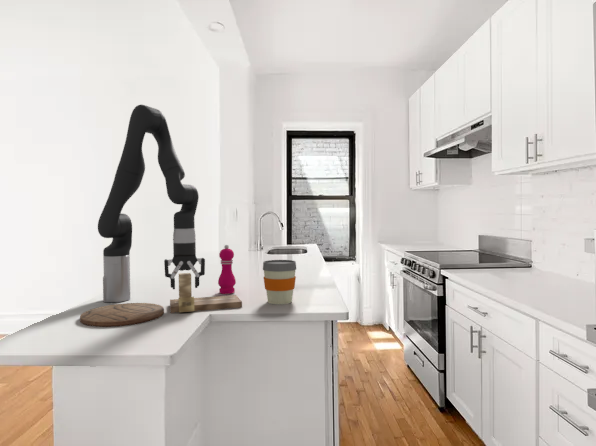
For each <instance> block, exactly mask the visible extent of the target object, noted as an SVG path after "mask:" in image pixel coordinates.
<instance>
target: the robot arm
mask: <svg viewBox="0 0 596 446" xmlns="http://www.w3.org/2000/svg"><path fill="white" fill-rule="evenodd" d="M146 133H147V134H151V135H152V136H153V138H154V139H155V142H156V144H157V148H158V149H157V162H158V166H159V167H160V171H161V172H162V175H163V177H164V179H165V186H166V193H167V194H166V195H167V197H168V198H169V200H170V201H171V203H173V204H174V205H181V208H180V210H179V211H176V212H174V214H173V232H172V233H173V235H172V236H173V237H172V243H173V245H172V246H173V248H172V249H173V253H172V254H173V256H172V259H167V258H166V259H164V261H163V262H164V263H163V264H164V276H165V278H169V279H170V288H172V290H176V280H175V276H176V275H177V274H178V273H179V271H180V272H183V271H192V272H193V274H194V288H195V289H197V288H198V287H199V286H200V277H202V276H204V275H205V272H206V259H205V258H204V257H200V258H197V256H196V255H197V254H196V253H197V252H196V249H197V248H196V245H197V244H196V243H197V242H196V230H195V228H196V227H195V226H196V225H195V215H196V212H197V208H198V204H199V196H200V195H199V191H198V189H197V188H196V186H194V185H191V184H183V183H182V180H184V178H185V177H186V175H185V171H184V168H183V166H182V164H181V162H180V159H179V157H178V155H177V153H176V150H175V147H174V144H173V140H172V136H171V133H170V129H169V126H168V122H167V119H166V117H165V115H164V113H163V111H161V110H160V109H157V108H155V107H151V106H148V105H145V104H138V105H136V106H135V107H134V108H133V109H132V112H131V114H130V118H129V122H128V128H127V132H126V136H125V137H126V138H125V142H124V145H123V150H122V153H121V156H120V160H119V162H118V165H117V168H116V172H115V173H114V174H115V175H114V179H113V182H112V186H111V188H110V190H109V191H110V192H109V194H108V197H107V200H106V202H105V204H104V206H103V209H102V211H101V214H100V216H99V218H98V221H97V232H98V234H99V235H100V237H102V238H104V239H112V240H111V243H109V245H108V246H105V247H104V248H103V251H102V252H103V253H102V254H103V255H102V256H103V277H102V298H103V303H119V302H120V303H121V302H127V301H129V300H130V299H131V261H130V260H131V258H130V257H131V254H130V250H131V248H132V246H133V245H132V241H133V239H132V238H133V222H132V220H131V217H130V216H129V215H128V214H126V213H122V211H123V208H124V206H125V205H126V203H127V202H128V201H129V200H130V198H132V196H133V195H134V194H135V193H136V192H137V191H138V190H139V188H140V186H141V184H142V182H143V181H142V180H143V178H144V175H145V172H146V163H145V158H144V154H143V142H144V139H145V136H146ZM197 262H198V264H199V265H200V271H199V272H198V271H197V269H196V267H195V265H196V264H197ZM171 263H172V264H173V265H174V268H173V271H172V273H169V266H171Z"/></svg>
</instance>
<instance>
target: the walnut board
mask: <svg viewBox="0 0 596 446" xmlns="http://www.w3.org/2000/svg"><path fill="white" fill-rule="evenodd" d="M169 306H170V309H169V310H170V313H171V314H174V313H175V312H176V313H180V312H179V299H176V298H175V299H169ZM236 308H237V309H238V308H243V301H242V300H241V299H240V298H239V296H237V295H236V294H233V295H232V294H231V295H230V294H229V295H219V296H204V297H203V296H202V297H194V311H193V312H198V310H201V311H208V310H209V311H212V310H213V311H214V310H225V309H226V310H227V309H236ZM176 313H175V314H176Z"/></svg>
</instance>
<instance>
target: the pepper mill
mask: <svg viewBox="0 0 596 446" xmlns="http://www.w3.org/2000/svg"><path fill="white" fill-rule="evenodd" d="M218 256H219V258H220V259H221V260H220V265H221V273H220V275H219V277H218V280H217V281H218V283H217V284H218V286H219V287H220V288H219V294H220V295H221V294H222V295H230V294H231V295H232V294H234V293H235V291H236V290H235V289H236V288H235V285H236V283H237V282H236V281H237V280H236V277H235V275H234V272H233V269H232V265H233V258H234V256H235V254H234V251H233V250H232V249H231V248H229V245H228V244H224V247H223V249H221V250H220V251H219V255H218Z"/></svg>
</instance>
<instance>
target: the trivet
mask: <svg viewBox="0 0 596 446" xmlns="http://www.w3.org/2000/svg"><path fill="white" fill-rule="evenodd" d="M164 314H165V309H164V306H163V305H161V304H156V303H149V302H133V303H132V302H126V303H116V304H108V305H104V306H99V307H96V308H91V309H89V310H86V311H84V312H82V313H81V314H80V317H79V321H80V324H81V325H84V326H86V327H87V326H88V327H94V328H95V327H96V328H115V327H127V326H134V325H138V324H139V325H140V324H144V323H148V322H153V321H155V320H157V319H159V318H161V317H163V316H164Z"/></svg>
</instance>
